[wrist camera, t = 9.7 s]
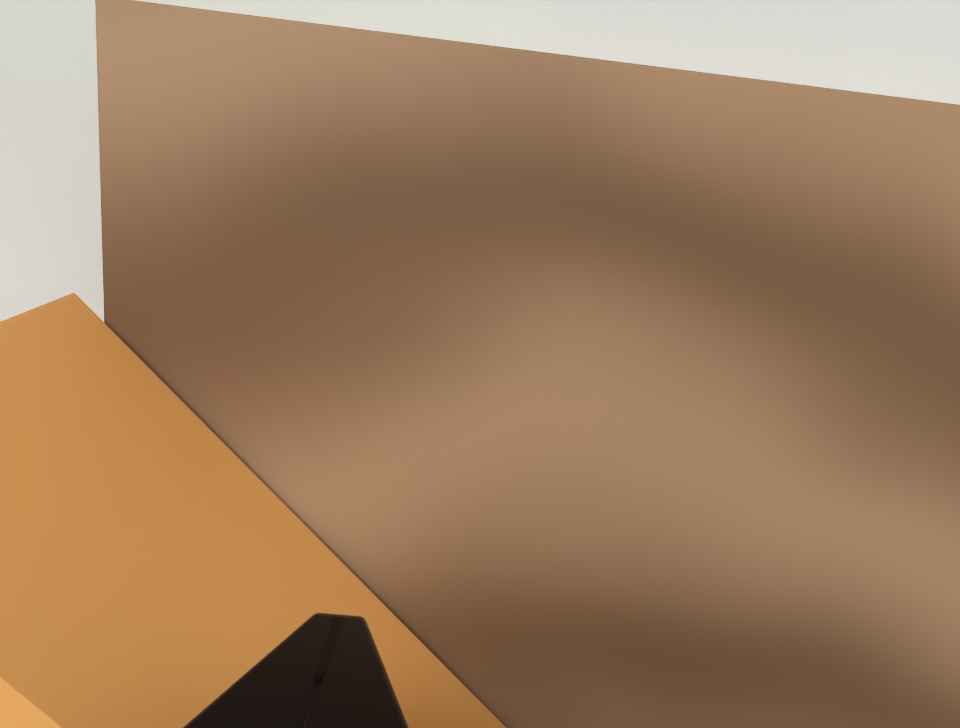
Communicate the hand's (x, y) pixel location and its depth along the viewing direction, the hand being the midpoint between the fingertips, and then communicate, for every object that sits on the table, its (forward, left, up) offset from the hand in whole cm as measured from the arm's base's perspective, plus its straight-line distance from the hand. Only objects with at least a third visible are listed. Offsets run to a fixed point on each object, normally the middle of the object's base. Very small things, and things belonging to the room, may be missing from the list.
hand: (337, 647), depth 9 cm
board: (-4, -6, -6) cm, 10 cm away
